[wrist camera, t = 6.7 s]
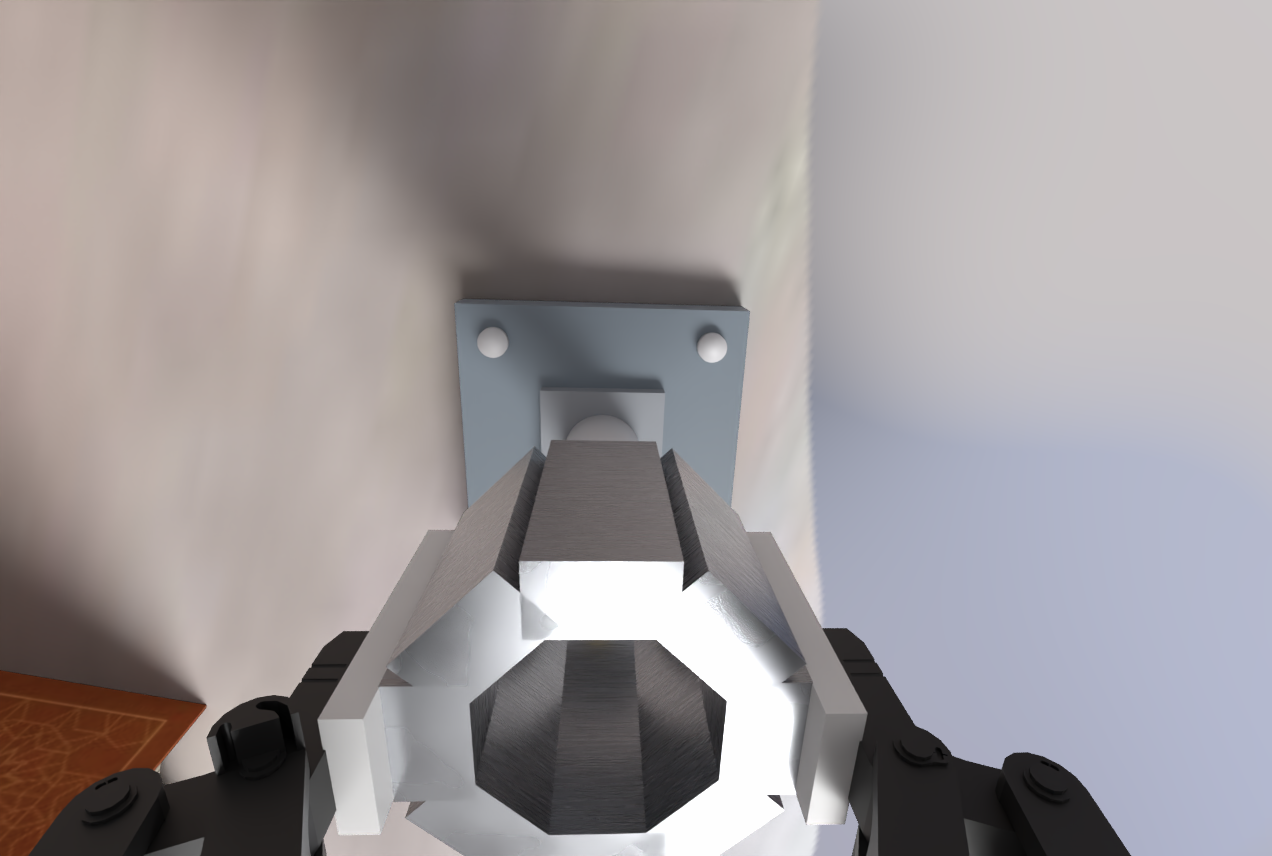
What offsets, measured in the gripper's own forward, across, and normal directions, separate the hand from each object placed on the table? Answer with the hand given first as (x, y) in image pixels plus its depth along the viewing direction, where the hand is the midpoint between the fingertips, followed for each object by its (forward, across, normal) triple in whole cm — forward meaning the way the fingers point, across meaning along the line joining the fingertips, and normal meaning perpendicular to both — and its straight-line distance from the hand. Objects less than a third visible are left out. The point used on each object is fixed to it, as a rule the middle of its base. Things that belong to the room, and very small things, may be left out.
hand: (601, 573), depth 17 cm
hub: (0, 0, 0) cm, 0 cm away
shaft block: (+11, 0, 0) cm, 11 cm away
